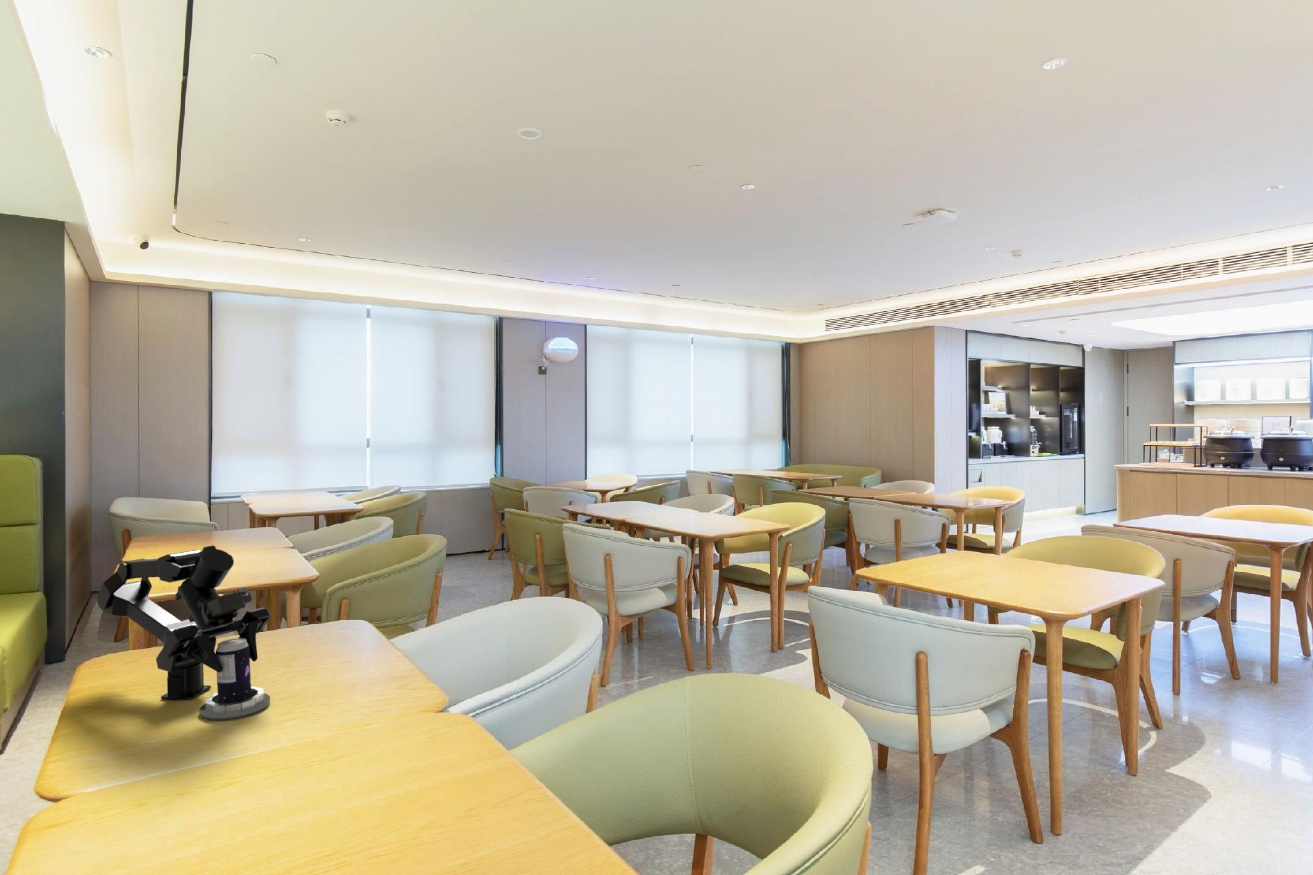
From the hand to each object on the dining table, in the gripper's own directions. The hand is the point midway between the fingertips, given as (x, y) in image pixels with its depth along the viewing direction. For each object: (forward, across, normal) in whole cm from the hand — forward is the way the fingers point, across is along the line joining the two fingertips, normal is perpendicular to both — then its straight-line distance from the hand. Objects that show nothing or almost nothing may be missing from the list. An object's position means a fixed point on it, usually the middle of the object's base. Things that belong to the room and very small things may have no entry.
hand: (238, 665), depth 142 cm
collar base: (+5, 0, +7) cm, 9 cm away
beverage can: (+4, 0, +6) cm, 8 cm away
